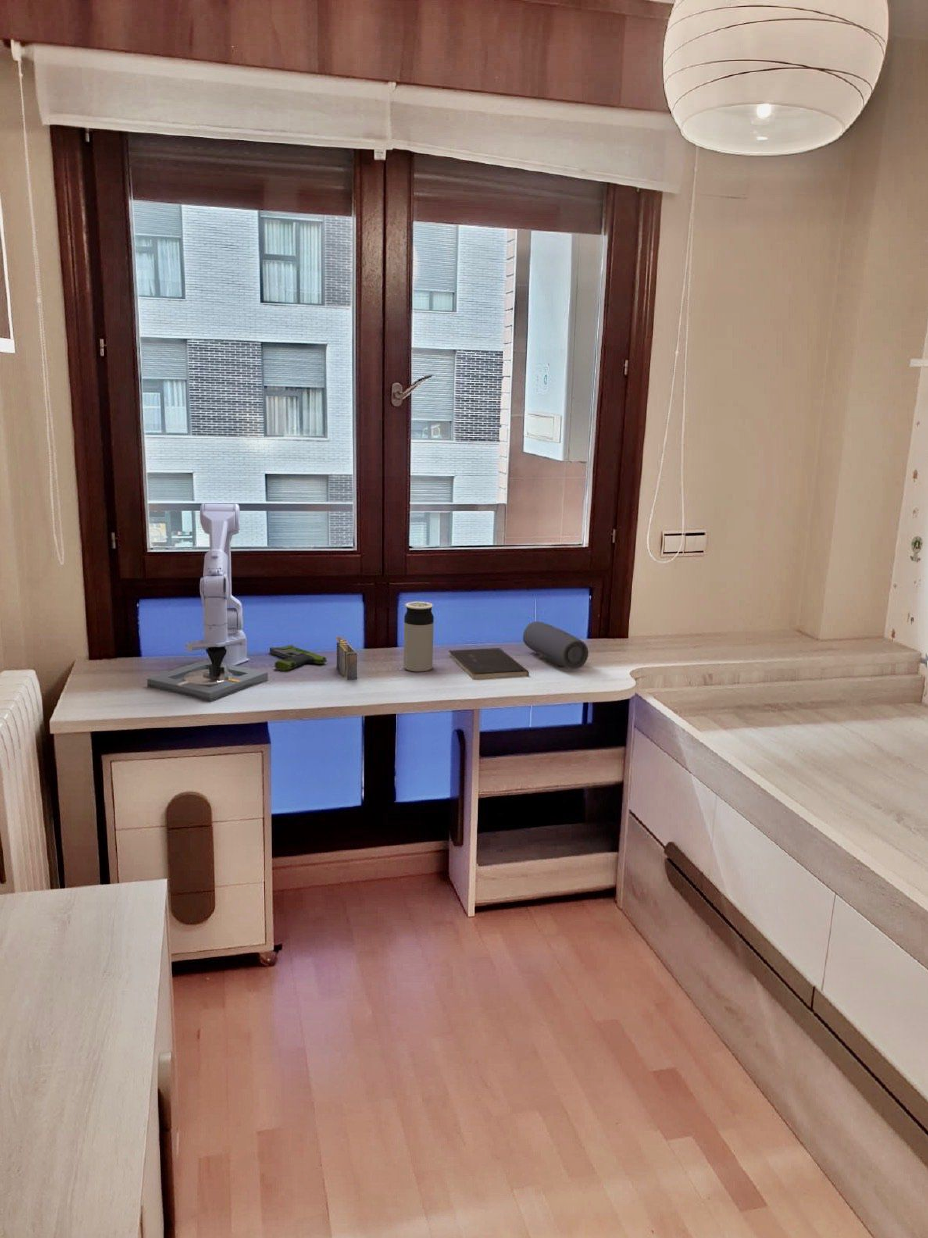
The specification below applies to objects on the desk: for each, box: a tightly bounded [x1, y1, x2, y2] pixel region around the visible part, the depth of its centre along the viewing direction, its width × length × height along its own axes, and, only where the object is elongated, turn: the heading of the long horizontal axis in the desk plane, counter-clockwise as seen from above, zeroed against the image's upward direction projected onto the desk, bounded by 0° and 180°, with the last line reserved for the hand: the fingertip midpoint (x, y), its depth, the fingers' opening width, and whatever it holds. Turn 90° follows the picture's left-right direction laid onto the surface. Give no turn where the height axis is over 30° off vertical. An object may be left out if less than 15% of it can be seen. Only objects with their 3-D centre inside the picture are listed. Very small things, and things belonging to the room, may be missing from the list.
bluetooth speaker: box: [522, 621, 589, 670], centre depth 270 cm, size 23×9×10 cm, turn 25°
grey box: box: [334, 634, 358, 681], centre depth 253 cm, size 11×3×10 cm, turn 21°
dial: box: [184, 664, 233, 687], centre depth 241 cm, size 12×12×4 cm
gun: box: [269, 644, 327, 671], centre depth 264 cm, size 2×19×15 cm
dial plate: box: [146, 658, 269, 703], centre depth 242 cm, size 21×21×2 cm
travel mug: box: [403, 601, 435, 673], centre depth 259 cm, size 8×8×18 cm
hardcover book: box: [448, 647, 530, 680], centre depth 265 cm, size 16×23×2 cm
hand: (216, 675), depth 238 cm, fingers closed, pressing on dial
